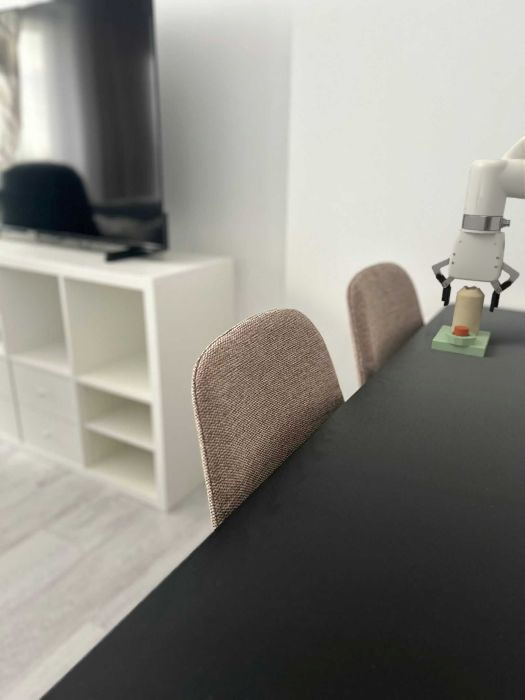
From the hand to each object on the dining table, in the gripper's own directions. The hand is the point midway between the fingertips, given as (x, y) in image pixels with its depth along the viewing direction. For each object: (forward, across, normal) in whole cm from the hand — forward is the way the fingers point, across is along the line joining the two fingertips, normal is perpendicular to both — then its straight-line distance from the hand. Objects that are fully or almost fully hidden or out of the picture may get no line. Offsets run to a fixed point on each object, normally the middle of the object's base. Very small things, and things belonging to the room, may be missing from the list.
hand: (468, 307), depth 109 cm
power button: (+4, 0, +7) cm, 8 cm away
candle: (+6, 0, 0) cm, 6 cm away
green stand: (+7, 0, +3) cm, 8 cm away
